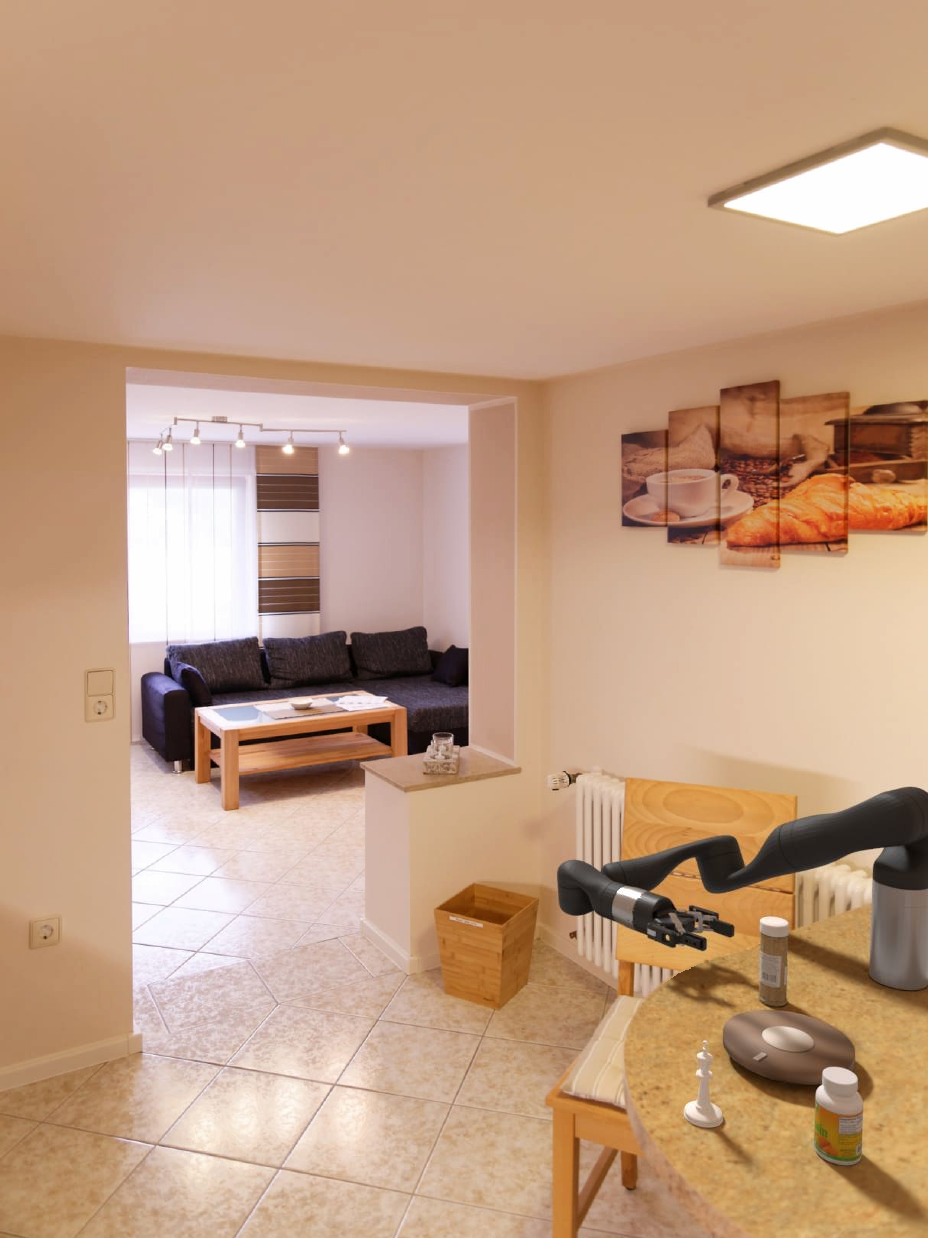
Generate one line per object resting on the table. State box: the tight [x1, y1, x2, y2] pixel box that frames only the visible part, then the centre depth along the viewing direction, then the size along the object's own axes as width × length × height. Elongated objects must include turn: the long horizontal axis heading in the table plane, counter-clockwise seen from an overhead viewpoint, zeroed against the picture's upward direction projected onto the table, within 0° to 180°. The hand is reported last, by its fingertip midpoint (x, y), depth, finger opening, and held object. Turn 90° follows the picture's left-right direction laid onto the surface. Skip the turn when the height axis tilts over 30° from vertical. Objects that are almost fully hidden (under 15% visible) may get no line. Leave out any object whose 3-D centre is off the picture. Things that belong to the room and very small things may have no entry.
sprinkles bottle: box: [757, 916, 790, 1007], centre depth 152 cm, size 5×5×14 cm
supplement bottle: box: [813, 1067, 864, 1166], centre depth 113 cm, size 5×5×10 cm
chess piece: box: [683, 1039, 724, 1129], centre depth 120 cm, size 5×5×10 cm
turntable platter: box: [722, 1009, 856, 1086], centre depth 134 cm, size 18×18×2 cm
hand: (719, 938), depth 159 cm, fingers open, 8 cm apart
